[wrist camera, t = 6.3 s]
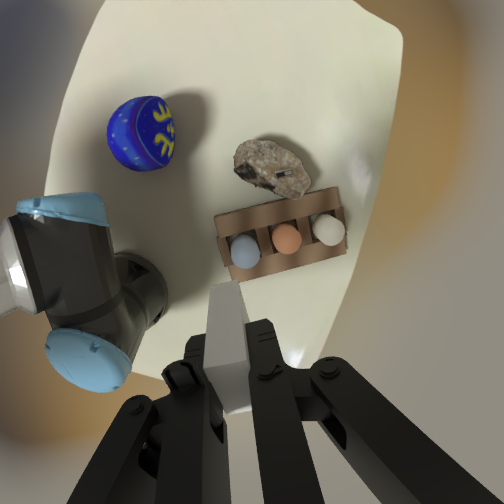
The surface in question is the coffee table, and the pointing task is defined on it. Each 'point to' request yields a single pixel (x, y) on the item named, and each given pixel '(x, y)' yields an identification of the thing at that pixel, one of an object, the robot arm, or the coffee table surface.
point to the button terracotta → (286, 238)
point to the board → (274, 214)
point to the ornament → (142, 133)
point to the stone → (271, 168)
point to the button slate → (244, 251)
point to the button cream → (328, 229)
